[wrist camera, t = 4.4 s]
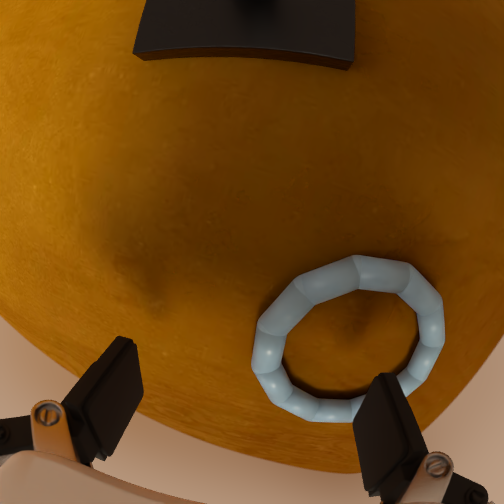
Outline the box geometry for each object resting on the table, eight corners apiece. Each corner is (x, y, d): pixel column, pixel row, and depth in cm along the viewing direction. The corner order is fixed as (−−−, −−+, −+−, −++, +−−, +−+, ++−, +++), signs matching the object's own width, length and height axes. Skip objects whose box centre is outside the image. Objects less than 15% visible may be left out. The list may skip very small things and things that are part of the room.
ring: (461, 267, 11) (475, 277, 10) (397, 409, 14) (403, 424, 13) (269, 237, 12) (267, 247, 11) (245, 401, 15) (242, 418, 14)
